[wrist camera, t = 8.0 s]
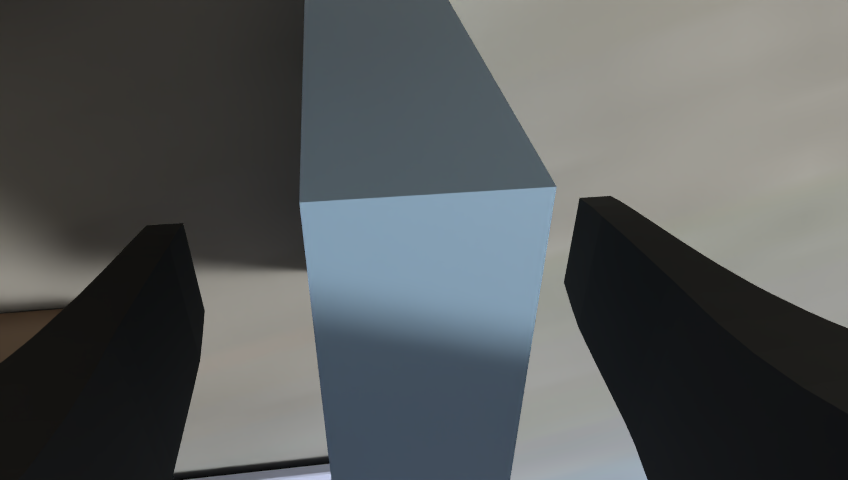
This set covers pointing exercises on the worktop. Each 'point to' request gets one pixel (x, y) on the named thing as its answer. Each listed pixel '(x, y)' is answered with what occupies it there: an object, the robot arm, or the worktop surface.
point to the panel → (416, 242)
